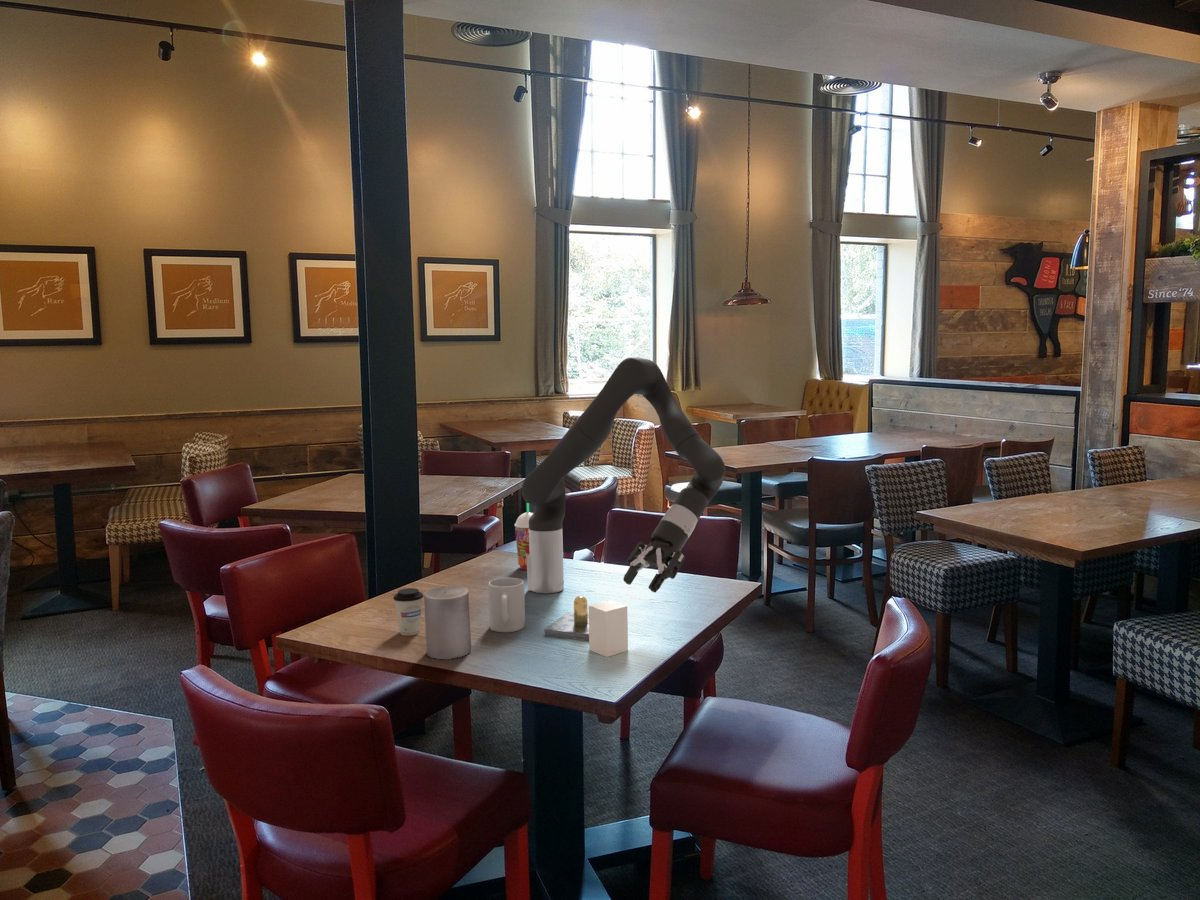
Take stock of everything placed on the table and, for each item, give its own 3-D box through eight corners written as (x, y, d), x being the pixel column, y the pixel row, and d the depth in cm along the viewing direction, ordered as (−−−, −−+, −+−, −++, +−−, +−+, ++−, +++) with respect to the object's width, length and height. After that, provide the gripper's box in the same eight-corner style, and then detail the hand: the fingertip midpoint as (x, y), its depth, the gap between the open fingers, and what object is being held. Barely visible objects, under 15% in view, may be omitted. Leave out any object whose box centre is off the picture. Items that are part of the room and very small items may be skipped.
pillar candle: (439, 643, 190) (436, 578, 189) (479, 646, 188) (475, 581, 186) (418, 658, 181) (414, 591, 179) (459, 662, 178) (456, 593, 177)
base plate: (544, 635, 194) (543, 601, 193) (566, 618, 206) (565, 586, 205) (596, 641, 189) (596, 606, 189) (616, 623, 202) (615, 591, 201)
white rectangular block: (589, 649, 184) (588, 605, 183) (610, 643, 188) (609, 600, 187) (606, 657, 180) (605, 611, 178) (628, 650, 183) (627, 606, 182)
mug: (491, 621, 205) (489, 577, 204) (526, 620, 205) (524, 576, 204) (486, 638, 193) (484, 591, 192) (523, 637, 193) (522, 590, 192)
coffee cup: (393, 629, 200) (391, 588, 199) (422, 625, 203) (420, 585, 202) (396, 638, 194) (394, 596, 193) (427, 634, 196) (425, 593, 195)
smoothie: (510, 568, 256) (508, 504, 254) (530, 563, 262) (528, 500, 260) (528, 572, 251) (526, 506, 248) (549, 567, 257) (547, 503, 254)
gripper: (645, 514, 197) (609, 571, 191) (688, 523, 186) (651, 583, 180) (662, 533, 201) (627, 589, 195) (705, 543, 190) (669, 602, 184)
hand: (638, 586), depth 188 cm, fingers open, 8 cm apart
